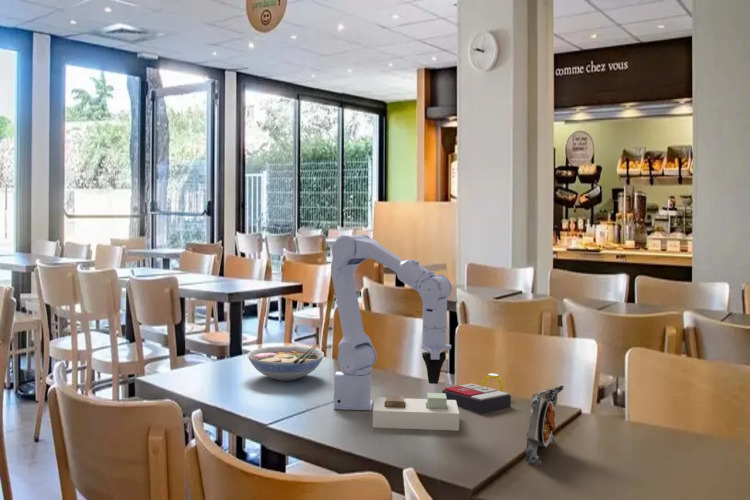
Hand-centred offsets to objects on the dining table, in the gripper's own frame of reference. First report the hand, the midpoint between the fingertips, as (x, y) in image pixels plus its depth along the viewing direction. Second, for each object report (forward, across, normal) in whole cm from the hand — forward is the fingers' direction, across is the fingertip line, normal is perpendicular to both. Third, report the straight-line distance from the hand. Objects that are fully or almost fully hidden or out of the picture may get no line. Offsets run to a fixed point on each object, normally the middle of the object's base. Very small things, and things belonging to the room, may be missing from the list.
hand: (433, 383), depth 160 cm
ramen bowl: (+9, +37, +42) cm, 57 cm away
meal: (+10, -18, -23) cm, 31 cm away
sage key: (+7, 0, -1) cm, 7 cm away
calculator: (+10, +17, -12) cm, 23 cm away
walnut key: (+7, 0, +9) cm, 12 cm away
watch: (+10, +26, -17) cm, 33 cm away
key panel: (+10, 0, +4) cm, 10 cm away
